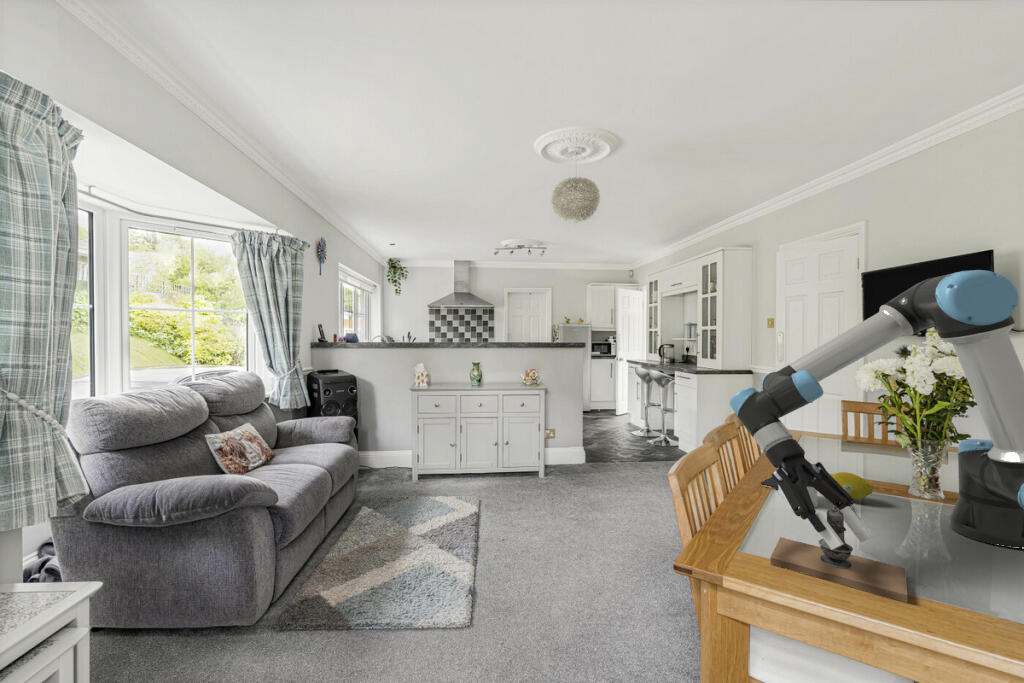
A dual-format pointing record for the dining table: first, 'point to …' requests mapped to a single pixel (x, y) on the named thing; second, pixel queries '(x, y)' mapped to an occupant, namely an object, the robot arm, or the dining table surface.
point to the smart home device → (771, 483)
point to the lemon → (853, 485)
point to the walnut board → (858, 576)
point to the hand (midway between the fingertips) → (852, 542)
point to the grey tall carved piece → (842, 552)
